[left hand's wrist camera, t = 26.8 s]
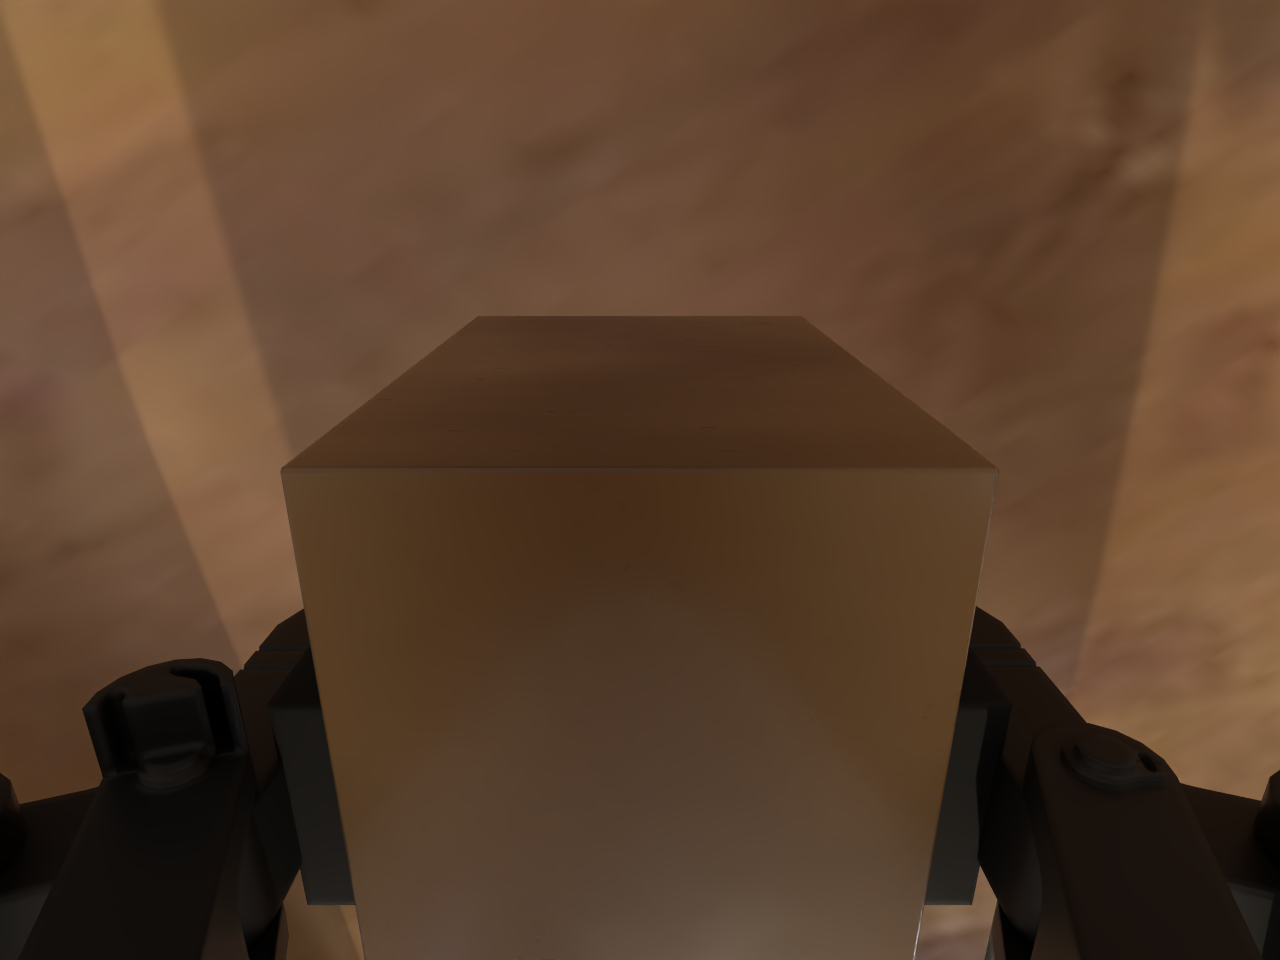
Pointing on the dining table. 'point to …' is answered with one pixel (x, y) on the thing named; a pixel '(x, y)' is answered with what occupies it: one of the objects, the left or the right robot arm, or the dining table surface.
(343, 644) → the brick
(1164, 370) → the dining table surface
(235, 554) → the dining table surface
